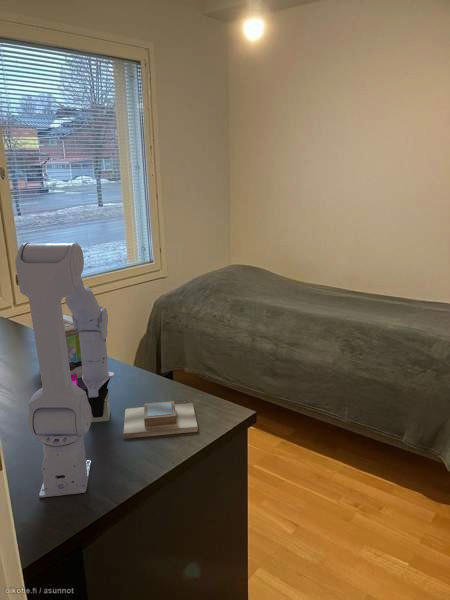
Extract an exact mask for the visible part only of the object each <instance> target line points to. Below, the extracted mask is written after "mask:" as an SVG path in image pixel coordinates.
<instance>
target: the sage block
mask: <svg viewBox="0 0 450 600" xmlns="http://www.w3.org/2000/svg"><path fill="white" fill-rule="evenodd" d="M110 415H111V407H110V392H109V391H108V393H107V396H106V398H105V402H104V412H103V417H97V418H94V417H93V415H92V413H91V423H97V422H108V421H109V420H110Z"/></svg>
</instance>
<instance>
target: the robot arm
mask: <svg viewBox="0 0 450 600" xmlns="http://www.w3.org/2000/svg"><path fill="white" fill-rule="evenodd" d="M84 259H85V258H84V251H83V249H82V247H81V246H80V245H79V244H78V242H76V241H75V242H73V241H72V242H71V243H70V242H69V243H68V242H67V243H66V242H65V243H63V242H61V243H57V242H56V243H53V242H52V243H49V242H48V243H47V242H45V243H40V242H39V243H37V242H36V243H30V242H23V243H22V244H21V245H20V246H19V248H18V250H17V253H16V257H15V262H14V263H15V270H16V276H17V281H18V282H17V283H18V286H19V292H20V294H22V295H24V296H25V297H27V298H28V303H29V308H30V309H29V310H30V316H31V323H32V329H33V335H34V342H35V348H36V354H37V360H38V361H37V362H38V368H39V374H40V380H41V388H39V389H38V390H37V391H35V392H34V393H33V395H32V396H31V398H30V400H29V403H28V418H27V419H28V420H27V425H28V429H29V431H30V433H31V434H32V436H36V437H37V442H41V443H42V451H43V460H42V463H41V475H42V481H43V482H42V485H41V489H40V491H39V494H38V495H39V498H48V497H49V498H50V497H58V496H67V495H76V494H84V493H86V492H87V487H88V482H89V477H90V472H91V471H90V469H91V464H92V461H91V459H87V457H86V450H85V449H86V448H85V440H84V439H85V438H84V436H85V435H86V434H87V433H88V431H89V429H90V427H91V425H92V422H91V413H92V415H93V417H94V418H97V417H103V412H104V402H105V398H106V396H107V393H108V392H109V388H108V385H109V384H110V383H109V382H110V381H111V379H113V378H114V377H115V373H114V372H113V371H109V361H108V348H107V347H108V346H107V337H108V325H109V324H108V323H109V322H108V321H109V316H108V315H109V314H108V311H107V309H106V308H104V307H103V306H102V305H100V304H99V303H98V299H97V298H96V296H95V294H94V291H93V290H92V289H91V288H90V287H88V286H86V285H84V282H83V278H82V275H83V271H84V265H85V260H84ZM63 299H64V301H65V305H66V306H67V307H68V309H69V311H70V313H71V316H72V320H73V325H74V329H75V330H76V331H80V332H79V340H80V350H81V361H82V371H83V376H82V378H81V379H82V382H83V383H84V385H85V387H86V388H81V387H79V385H78V386H76V385H75V384H73V383H72V382H71V374H70V366H69V359H68V351H67V344H66V336H65V328H64V321H63V315H64V314H63V306H62V300H63Z"/></svg>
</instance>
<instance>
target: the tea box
mask: <svg viewBox="0 0 450 600" xmlns="http://www.w3.org/2000/svg"><path fill="white" fill-rule="evenodd" d="M63 321H64V328H65V336H66V344H67V351H68V359H69V366H70V374H71V375H72V374H77V380H79V379H82V376H83V371H82V361H81V350H80V340H79V332H80V331H76V330H75V329H74V325H73V320H72V315H71V314H70V315H69V314H68V313H67V314H63Z"/></svg>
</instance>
